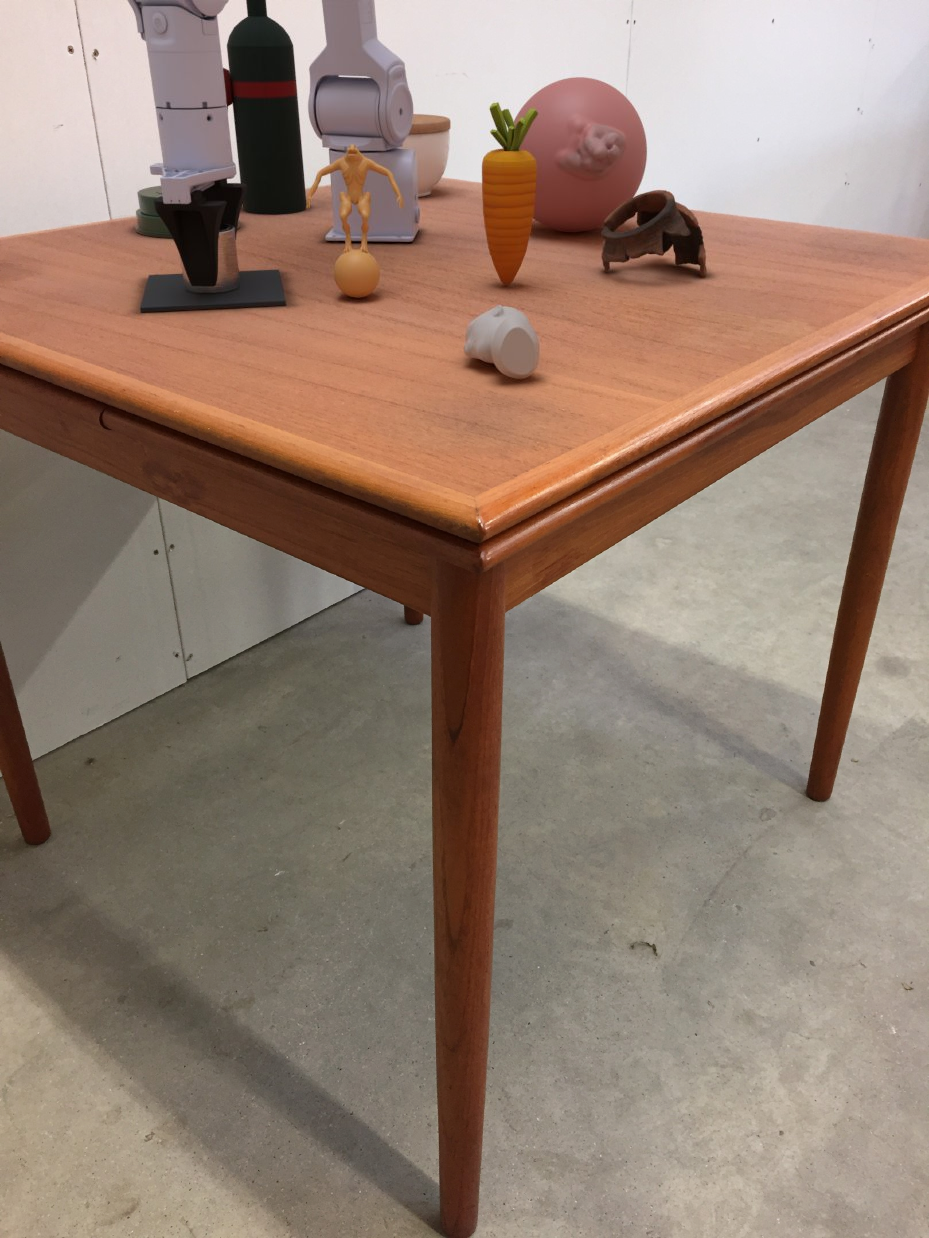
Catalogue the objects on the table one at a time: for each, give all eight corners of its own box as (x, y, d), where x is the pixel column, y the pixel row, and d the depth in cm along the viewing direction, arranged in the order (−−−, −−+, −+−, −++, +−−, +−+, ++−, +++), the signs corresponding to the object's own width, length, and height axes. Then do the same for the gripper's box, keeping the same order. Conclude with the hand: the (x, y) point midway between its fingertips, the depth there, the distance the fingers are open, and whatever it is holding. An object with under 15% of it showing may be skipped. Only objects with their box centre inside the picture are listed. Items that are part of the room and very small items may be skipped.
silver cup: (246, 281, 91) (240, 222, 89) (232, 294, 87) (225, 233, 85) (193, 280, 92) (185, 221, 89) (177, 293, 88) (168, 232, 85)
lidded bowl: (346, 200, 132) (341, 105, 126) (370, 185, 142) (366, 97, 136) (441, 202, 130) (440, 107, 124) (458, 187, 140) (458, 99, 135)
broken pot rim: (719, 289, 93) (689, 211, 88) (623, 329, 96) (589, 256, 91) (706, 230, 101) (679, 155, 96) (618, 269, 105) (587, 198, 99)
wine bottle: (224, 205, 128) (191, -81, 112) (304, 202, 130) (283, -80, 114) (224, 216, 122) (188, -86, 106) (308, 213, 123) (286, -85, 108)
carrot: (539, 282, 93) (547, 100, 85) (525, 294, 89) (531, 105, 81) (489, 277, 95) (491, 99, 87) (472, 290, 91) (472, 103, 83)
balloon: (513, 254, 103) (517, 85, 95) (498, 219, 120) (501, 73, 112) (661, 253, 104) (678, 85, 96) (626, 218, 121) (638, 73, 113)
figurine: (307, 302, 87) (295, 150, 80) (316, 286, 92) (305, 141, 85) (404, 303, 87) (399, 150, 80) (407, 286, 92) (403, 141, 85)
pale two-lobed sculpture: (468, 366, 75) (533, 344, 75) (479, 400, 68) (551, 375, 68) (451, 310, 73) (517, 287, 73) (460, 339, 66) (534, 314, 66)
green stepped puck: (250, 219, 120) (246, 182, 117) (225, 239, 110) (220, 199, 108) (154, 218, 120) (149, 181, 118) (120, 237, 110) (114, 198, 108)
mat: (279, 273, 96) (278, 269, 96) (286, 305, 86) (285, 300, 86) (149, 279, 94) (148, 275, 93) (140, 312, 84) (139, 307, 83)
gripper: (170, 99, 88) (191, 259, 95) (111, 114, 76) (141, 297, 83) (249, 99, 88) (265, 260, 95) (203, 115, 76) (225, 299, 83)
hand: (212, 278), depth 89 cm, fingers closed on silver cup, 5 cm apart
